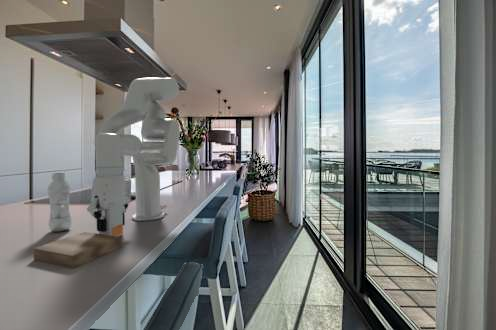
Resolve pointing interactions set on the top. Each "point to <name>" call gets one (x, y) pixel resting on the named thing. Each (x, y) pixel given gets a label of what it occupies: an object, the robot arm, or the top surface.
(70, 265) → the walnut base
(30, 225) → the top surface
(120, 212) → the skincare box
